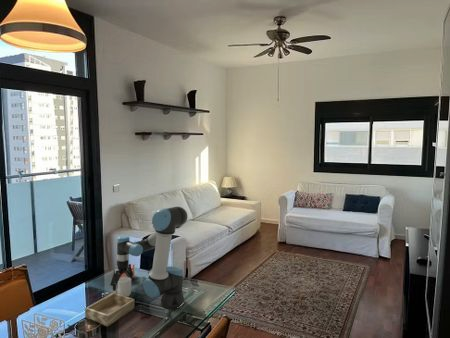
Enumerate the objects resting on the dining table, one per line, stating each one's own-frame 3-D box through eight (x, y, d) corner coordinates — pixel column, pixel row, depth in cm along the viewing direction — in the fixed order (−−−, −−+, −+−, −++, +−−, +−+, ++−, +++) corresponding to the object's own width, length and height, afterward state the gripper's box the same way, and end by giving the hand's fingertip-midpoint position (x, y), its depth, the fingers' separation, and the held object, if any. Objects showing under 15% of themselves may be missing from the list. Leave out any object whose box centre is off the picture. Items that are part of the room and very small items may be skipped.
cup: (127, 297, 210) (127, 282, 209) (110, 295, 212) (110, 280, 211) (133, 292, 218) (133, 277, 218) (116, 289, 220) (116, 275, 219)
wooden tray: (134, 308, 197) (134, 299, 197) (107, 326, 177) (108, 316, 177) (112, 301, 204) (113, 292, 204) (85, 318, 184) (85, 308, 184)
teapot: (132, 283, 232) (133, 269, 231) (115, 283, 230) (116, 269, 229) (135, 275, 246) (135, 262, 245) (119, 275, 244) (119, 262, 243)
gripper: (130, 253, 226) (129, 282, 228) (104, 264, 204) (104, 297, 206) (139, 255, 223) (138, 285, 225) (114, 266, 201) (113, 300, 203)
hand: (121, 291), depth 215 cm, fingers open, 12 cm apart
